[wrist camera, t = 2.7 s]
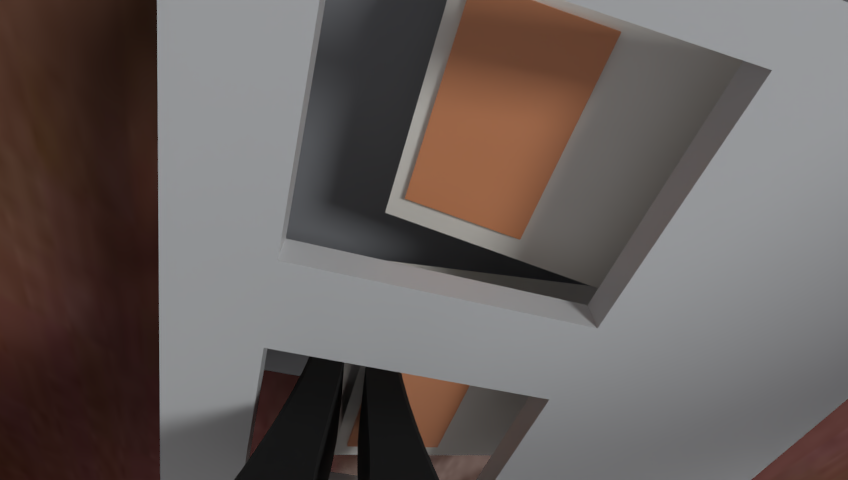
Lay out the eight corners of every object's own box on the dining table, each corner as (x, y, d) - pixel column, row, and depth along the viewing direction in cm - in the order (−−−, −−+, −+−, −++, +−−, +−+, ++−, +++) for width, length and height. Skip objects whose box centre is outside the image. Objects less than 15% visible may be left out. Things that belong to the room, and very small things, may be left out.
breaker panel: (896, 17, 12) (1297, 122, 7) (616, 381, 20) (695, 571, 14) (276, -216, 10) (89, -364, 4) (226, 306, 17) (138, 503, 12)
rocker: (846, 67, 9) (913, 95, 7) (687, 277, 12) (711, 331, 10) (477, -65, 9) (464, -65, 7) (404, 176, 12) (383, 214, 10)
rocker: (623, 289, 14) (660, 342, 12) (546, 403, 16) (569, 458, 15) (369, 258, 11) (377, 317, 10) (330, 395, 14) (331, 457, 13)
